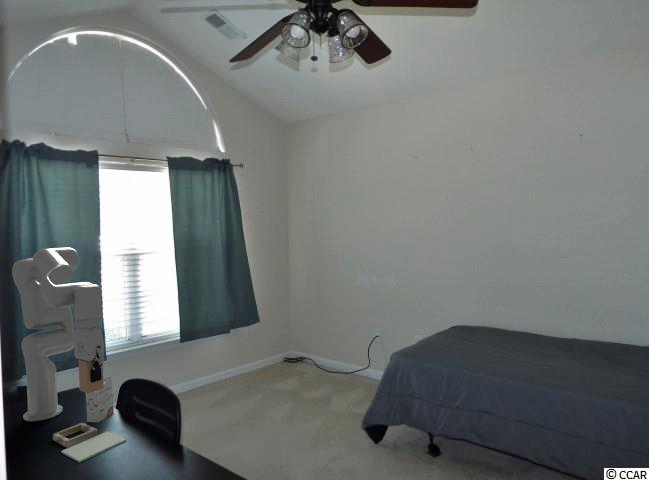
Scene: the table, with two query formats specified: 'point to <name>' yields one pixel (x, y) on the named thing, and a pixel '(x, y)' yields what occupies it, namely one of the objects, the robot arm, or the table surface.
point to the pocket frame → (90, 432)
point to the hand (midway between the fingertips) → (91, 378)
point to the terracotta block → (88, 378)
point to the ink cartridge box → (100, 402)
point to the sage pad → (93, 446)
